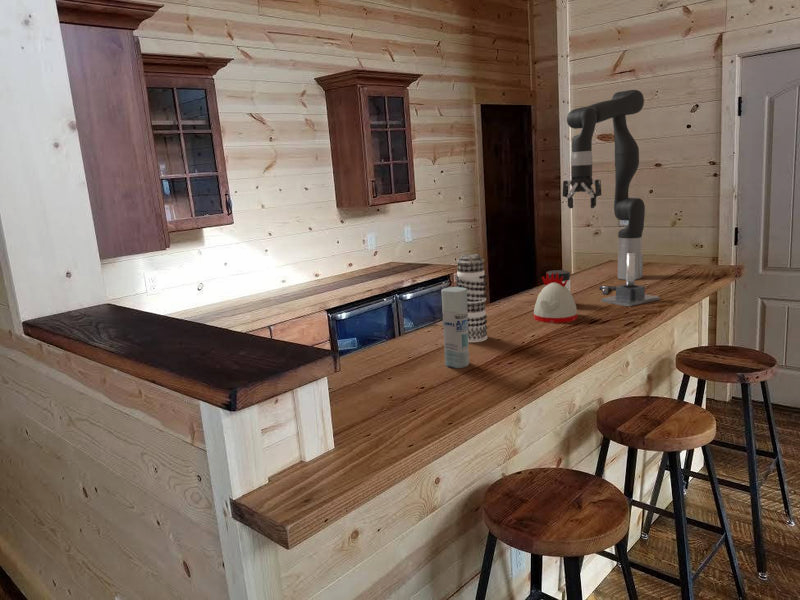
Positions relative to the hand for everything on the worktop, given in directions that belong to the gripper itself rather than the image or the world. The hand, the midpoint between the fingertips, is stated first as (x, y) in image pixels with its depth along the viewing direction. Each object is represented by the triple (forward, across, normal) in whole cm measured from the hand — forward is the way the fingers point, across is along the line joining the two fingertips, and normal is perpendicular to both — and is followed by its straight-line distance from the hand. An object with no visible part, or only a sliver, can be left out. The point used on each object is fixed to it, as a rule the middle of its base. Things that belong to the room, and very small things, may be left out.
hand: (581, 208), depth 235 cm
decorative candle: (+32, +1, +75) cm, 82 cm away
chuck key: (+32, -9, -3) cm, 33 cm away
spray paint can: (+32, -9, +98) cm, 104 cm away
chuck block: (+32, -22, +8) cm, 39 cm away
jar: (+32, -2, +25) cm, 41 cm away
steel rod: (+31, -22, +8) cm, 39 cm away
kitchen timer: (+32, -9, +42) cm, 54 cm away
